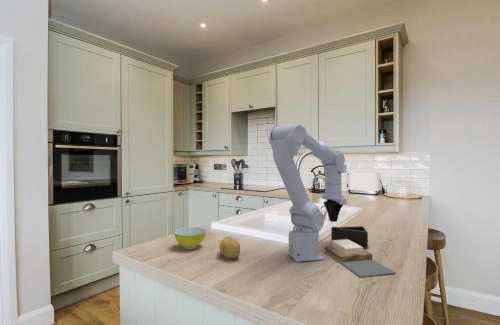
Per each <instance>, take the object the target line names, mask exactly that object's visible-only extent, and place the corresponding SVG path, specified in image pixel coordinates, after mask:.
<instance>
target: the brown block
mask: <svg viewBox="0 0 500 325" xmlns="http://www.w3.org/2000/svg"><path fill="white" fill-rule="evenodd" d="M324 253H325V254H327V255H328V256H330V257H331V258H332V259H333V260H335V261H337V263H339V264H341V262H351V261H362V260H373V253H371V252H369V251H368V250H367V249H363V254H353V255H345V254H343V253H342V252H340V251H339V250H337V249H336V248H334V247H332V245H330V246H329V245H328V246H324Z"/></svg>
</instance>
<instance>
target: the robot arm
mask: <svg viewBox="0 0 500 325" xmlns="http://www.w3.org/2000/svg"><path fill="white" fill-rule="evenodd" d="M268 142H269V144H270V147H271V149H272V157H273V161H274V164H275V166H276V169H277V170H278V172H279V175H280V178H281V180H282V182H283V184H284V187H285V189H286V191H287V192H286V193H287V194H288V197H289V200H290V201H291V204H292V205H291V206H290V208H289V214H290V222H291V224H292V225H293V226H294V230H290V231H289V232H288V252H287V254H288V255H289V257H291V258H292V259H293V261H295V262H297V263H300V262H308V261H309V262H310V261H312V262H313V261H323V260H324V259H325V258H324V256H322V255H321V254H319V253H320V252H319V251H320V250H319V249H320V247H319V243H320V242H319V235H320V234H319V232H320V231H321V230H322V228H323V227H324V224H325V215H324V214H323V212H322V211H321V210H320V209H319V206H318V205H317V204H315V203H314V202H312V201H311V200H310V198H309V196H308V192H307V191H306V187H305V184H304V182H303V180H302V177H301V175H300V173H299V170H298V168H297V165H296V163H295V159H294V157H295V156H296V155H297V154H298V153H299V151H300V149H301V148H302V146H303V147H305V148H306V149H308V150H310V151H311V155H312V156H314V157H315V158H316V159H318V160H319V161H320V162H321V164H322V166H323V167H324V193H321V199H323V200H326V201H323V205H324V207H325V208H326V211H327V215H328V216H327V217H328V220H329V222H331V223H334V222H338V218H339V215H340V211H341V209H342V208H343V206H344V205H347V198H345V195H342V172H343V170H344V165H345V162H346V158H345V155H344V153H343V152H342V151H341V150H335V149H334V148H333V146H330V145H328V144H327V142H326V141H325V140H319V141H317V140H316V139H315V138H314V137H313V136H312V135H311V134H309V133H308V132H307V129H306V127H305V126H304V125H302V124H301V123H298V122H297V123H293V124H287V125H279V126H278V125H277V126H273V127H272V128H271V130H270V133H269V136H268Z"/></svg>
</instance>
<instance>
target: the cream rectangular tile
mask: <svg viewBox="0 0 500 325" xmlns="http://www.w3.org/2000/svg"><path fill="white" fill-rule="evenodd" d="M331 246H332V247H334V248H336V249H337V250H339V251H340V252H342V253H343V254H345V255H353V254H363V247H362V246H360V245H358V244H356V243H354V242H352V241H350V240H348V239H343V240H332V243H331Z"/></svg>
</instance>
